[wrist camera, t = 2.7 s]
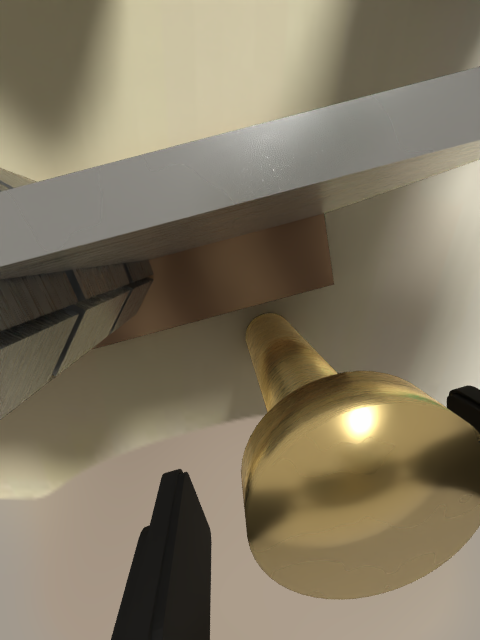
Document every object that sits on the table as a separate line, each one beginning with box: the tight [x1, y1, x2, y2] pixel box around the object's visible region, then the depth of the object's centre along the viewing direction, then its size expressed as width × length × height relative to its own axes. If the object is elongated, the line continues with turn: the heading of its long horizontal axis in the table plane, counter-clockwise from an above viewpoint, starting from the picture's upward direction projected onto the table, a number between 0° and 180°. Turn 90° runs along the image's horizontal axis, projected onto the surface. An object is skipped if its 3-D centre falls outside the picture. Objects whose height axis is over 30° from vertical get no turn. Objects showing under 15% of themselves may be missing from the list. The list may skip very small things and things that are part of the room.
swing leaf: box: [0, 67, 480, 382], centre depth 9 cm, size 19×7×12 cm, turn 104°
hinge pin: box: [241, 313, 480, 599], centre depth 13 cm, size 6×6×14 cm
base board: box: [92, 214, 334, 349], centre depth 16 cm, size 30×10×2 cm, turn 104°
